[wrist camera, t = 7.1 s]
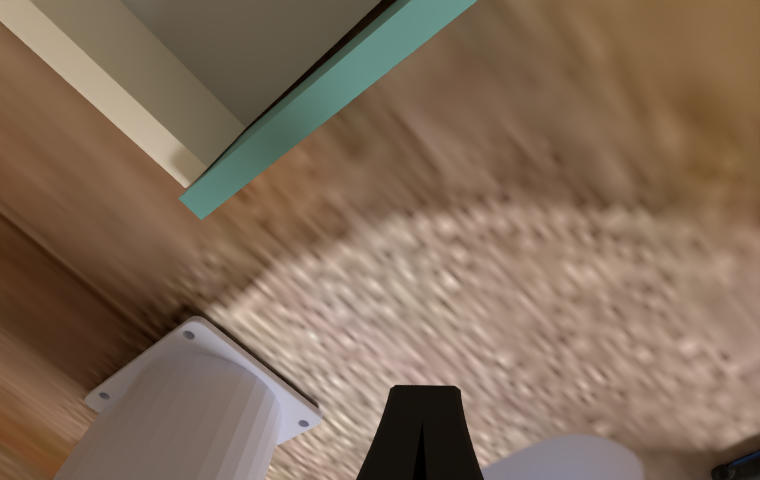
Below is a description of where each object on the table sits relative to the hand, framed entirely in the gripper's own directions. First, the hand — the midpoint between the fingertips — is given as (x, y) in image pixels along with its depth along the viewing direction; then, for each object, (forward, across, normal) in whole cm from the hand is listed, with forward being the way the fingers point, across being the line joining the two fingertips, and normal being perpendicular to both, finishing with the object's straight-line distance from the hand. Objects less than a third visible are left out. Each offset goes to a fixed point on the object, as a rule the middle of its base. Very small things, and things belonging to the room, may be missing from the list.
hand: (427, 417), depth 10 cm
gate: (+8, +2, -6) cm, 10 cm away
